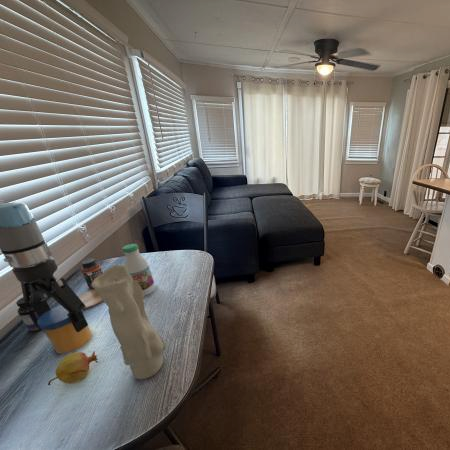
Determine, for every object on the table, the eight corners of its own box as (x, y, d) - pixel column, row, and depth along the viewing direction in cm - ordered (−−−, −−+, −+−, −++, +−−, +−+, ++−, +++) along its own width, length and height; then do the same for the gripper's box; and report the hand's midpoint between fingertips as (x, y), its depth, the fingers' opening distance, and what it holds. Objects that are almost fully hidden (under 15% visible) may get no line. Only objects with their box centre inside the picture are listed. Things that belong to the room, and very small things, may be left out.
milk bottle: (130, 291, 95) (114, 246, 87) (152, 282, 100) (138, 239, 92) (136, 300, 90) (119, 253, 82) (158, 290, 95) (144, 245, 87)
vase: (143, 354, 68) (107, 263, 56) (174, 352, 68) (144, 260, 57) (124, 384, 60) (79, 285, 48) (159, 381, 60) (122, 282, 49)
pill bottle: (55, 315, 83) (41, 289, 79) (55, 325, 79) (40, 298, 75) (29, 325, 79) (13, 298, 75) (28, 335, 75) (11, 308, 71)
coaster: (62, 310, 86) (61, 308, 86) (89, 289, 97) (89, 287, 97) (95, 309, 86) (94, 308, 85) (118, 288, 97) (118, 287, 96)
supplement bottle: (99, 288, 97) (88, 265, 93) (84, 289, 97) (74, 265, 93) (110, 280, 102) (101, 257, 98) (96, 280, 103) (86, 257, 98)
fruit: (40, 386, 54) (96, 358, 60) (39, 361, 58) (91, 337, 64) (53, 399, 58) (104, 371, 64) (51, 375, 62) (99, 351, 68)
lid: (61, 307, 73) (58, 302, 73) (90, 306, 73) (88, 302, 73) (30, 331, 65) (26, 325, 64) (63, 330, 65) (60, 325, 64)
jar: (47, 353, 69) (30, 326, 65) (73, 330, 77) (59, 304, 73) (75, 353, 69) (60, 325, 65) (98, 330, 76) (86, 304, 72)
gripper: (-19, 264, 62) (20, 326, 70) (49, 275, 56) (83, 342, 64) (19, 250, 68) (50, 309, 76) (83, 259, 62) (110, 322, 70)
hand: (65, 324), depth 70 cm, fingers open, 13 cm apart
